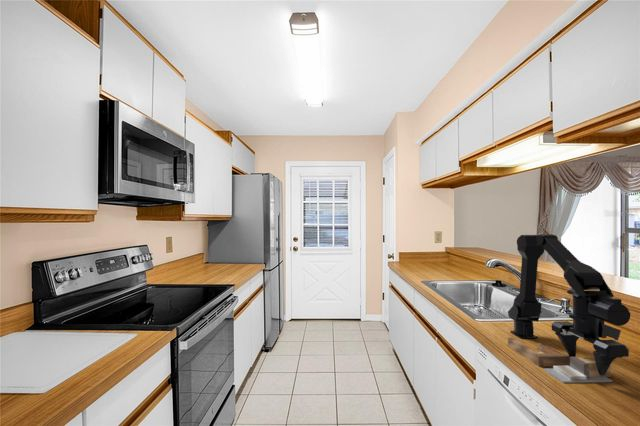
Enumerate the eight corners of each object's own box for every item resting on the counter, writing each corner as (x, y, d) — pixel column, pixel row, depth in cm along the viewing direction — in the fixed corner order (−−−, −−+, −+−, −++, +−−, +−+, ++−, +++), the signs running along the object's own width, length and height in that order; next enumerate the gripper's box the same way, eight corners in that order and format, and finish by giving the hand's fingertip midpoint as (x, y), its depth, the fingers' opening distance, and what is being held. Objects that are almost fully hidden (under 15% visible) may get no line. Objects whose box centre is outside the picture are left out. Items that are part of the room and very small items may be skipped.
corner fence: (508, 345, 106) (507, 337, 106) (537, 345, 106) (536, 337, 106) (538, 366, 91) (538, 356, 91) (572, 365, 91) (572, 356, 91)
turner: (595, 368, 89) (595, 355, 89) (616, 379, 83) (615, 365, 83) (553, 369, 89) (553, 355, 89) (570, 380, 83) (570, 365, 83)
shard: (538, 346, 106) (538, 341, 106) (566, 352, 101) (566, 347, 101) (534, 356, 98) (534, 351, 98) (564, 364, 93) (564, 358, 93)
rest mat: (543, 369, 89) (543, 368, 89) (589, 369, 89) (589, 367, 89) (563, 382, 82) (563, 381, 82) (612, 381, 82) (612, 380, 82)
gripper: (648, 324, 77) (650, 384, 77) (583, 303, 95) (584, 351, 95) (606, 325, 77) (608, 385, 76) (549, 303, 95) (550, 352, 95)
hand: (586, 366), depth 86 cm, fingers open, 9 cm apart
